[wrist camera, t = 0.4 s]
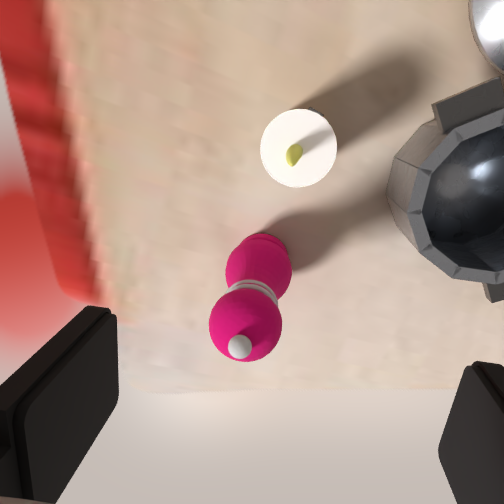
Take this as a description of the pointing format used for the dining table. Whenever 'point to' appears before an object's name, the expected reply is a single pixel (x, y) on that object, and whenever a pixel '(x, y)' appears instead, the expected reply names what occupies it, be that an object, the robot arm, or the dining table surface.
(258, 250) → the pepper mill
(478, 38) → the lid
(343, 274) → the dining table surface
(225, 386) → the dining table surface
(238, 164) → the dining table surface
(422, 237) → the pot
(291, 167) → the candle
